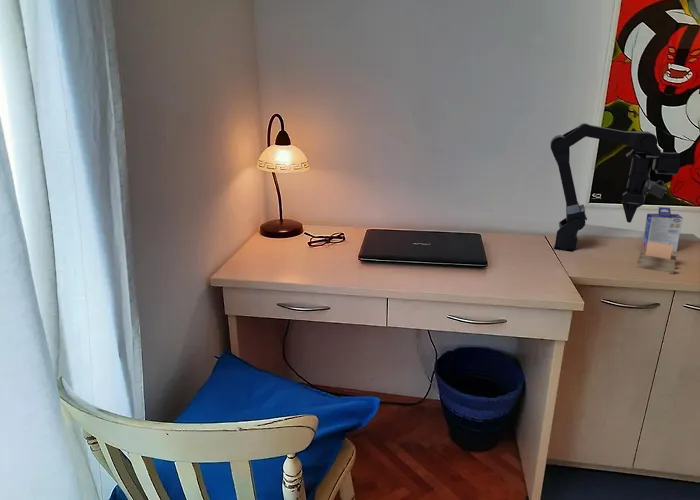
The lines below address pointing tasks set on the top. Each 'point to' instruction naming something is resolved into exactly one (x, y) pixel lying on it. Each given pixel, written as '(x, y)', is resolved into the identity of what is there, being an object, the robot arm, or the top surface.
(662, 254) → the terracotta block
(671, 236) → the ink cartridge box
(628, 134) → the robot arm
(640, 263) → the slot rack
